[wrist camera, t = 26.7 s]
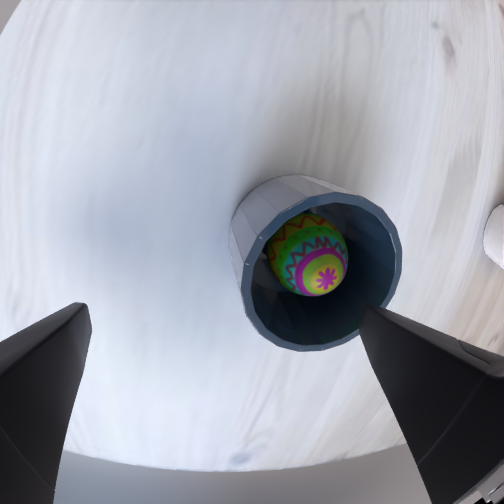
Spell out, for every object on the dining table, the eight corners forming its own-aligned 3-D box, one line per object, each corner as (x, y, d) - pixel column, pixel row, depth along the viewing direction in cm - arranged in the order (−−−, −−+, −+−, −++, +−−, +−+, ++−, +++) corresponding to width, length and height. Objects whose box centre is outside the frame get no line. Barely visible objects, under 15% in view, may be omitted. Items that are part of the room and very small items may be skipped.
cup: (204, 216, 20) (204, 255, 13) (320, 152, 19) (373, 160, 13) (265, 313, 23) (288, 375, 17) (364, 256, 23) (414, 298, 16)
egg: (336, 254, 22) (376, 291, 16) (277, 284, 22) (301, 331, 16) (314, 194, 20) (355, 216, 14) (248, 225, 20) (267, 260, 14)
